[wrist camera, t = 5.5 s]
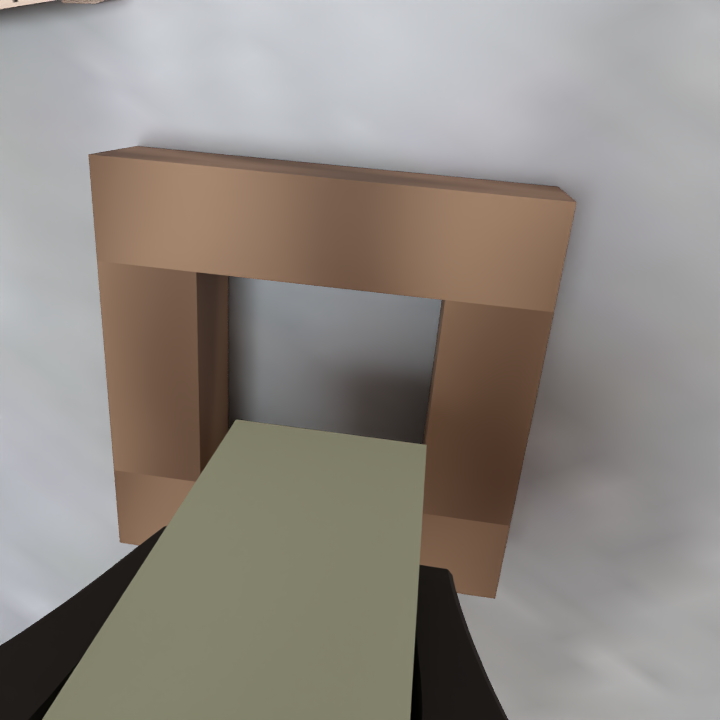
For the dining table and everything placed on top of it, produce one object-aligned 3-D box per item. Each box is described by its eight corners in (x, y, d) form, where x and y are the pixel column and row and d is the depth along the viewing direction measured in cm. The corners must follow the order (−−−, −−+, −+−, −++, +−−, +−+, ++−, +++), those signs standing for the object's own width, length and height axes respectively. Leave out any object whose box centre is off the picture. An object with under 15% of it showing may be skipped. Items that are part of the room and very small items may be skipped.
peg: (234, 570, 15) (35, 1019, 8) (236, 419, 14) (-13, 804, 6) (405, 596, 15) (363, 1092, 7) (426, 444, 13) (399, 882, 6)
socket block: (154, 494, 21) (119, 542, 19) (136, 146, 17) (88, 154, 15) (489, 542, 21) (494, 598, 18) (558, 187, 16) (576, 202, 14)
